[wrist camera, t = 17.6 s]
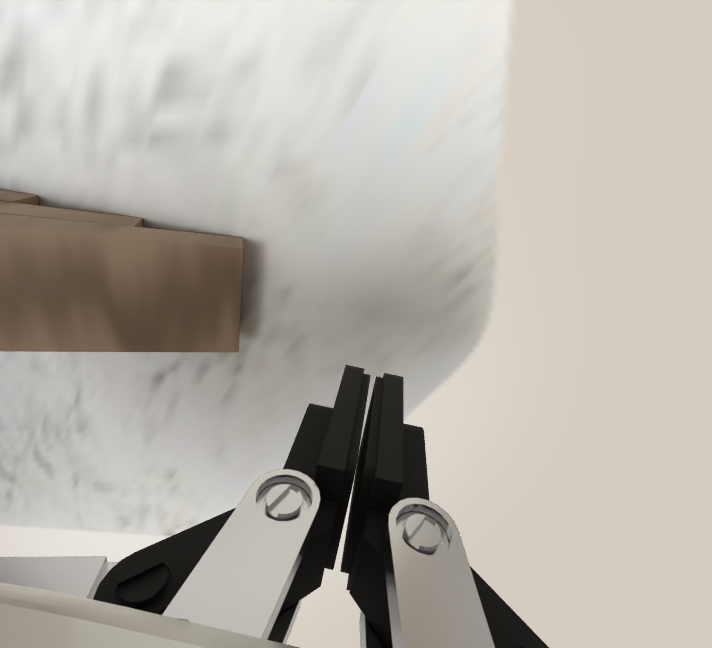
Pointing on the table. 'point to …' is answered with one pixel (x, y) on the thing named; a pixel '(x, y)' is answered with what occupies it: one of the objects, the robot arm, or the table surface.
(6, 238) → the tile
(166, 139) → the table surface
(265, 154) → the table surface
